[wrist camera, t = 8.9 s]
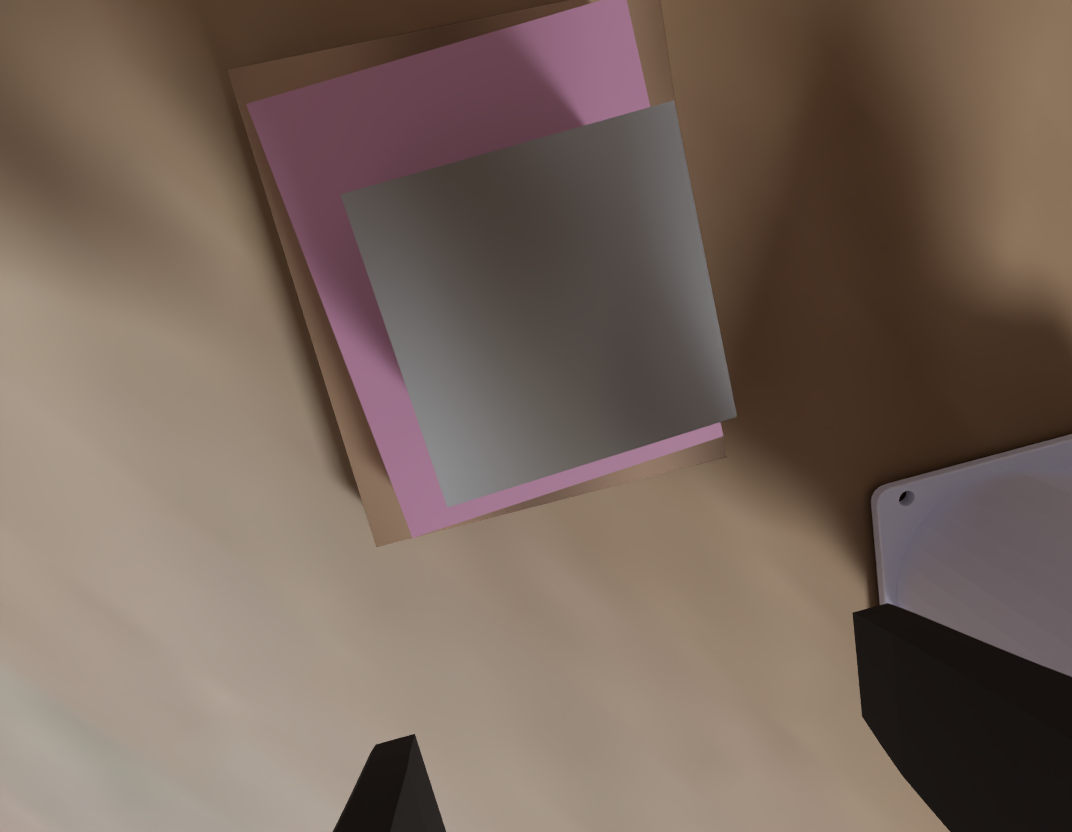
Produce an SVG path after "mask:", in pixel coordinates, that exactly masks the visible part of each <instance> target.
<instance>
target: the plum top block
mask: <svg viewBox="0 0 1072 832" xmlns="http://www.w3.org/2000/svg"><path fill="white" fill-rule="evenodd" d="M246 105H247V108H248V110H249V113H250V116H251V118H252V121H253V123H254V126H255V129H256V131H257V134H258V136H259V139H260V142H261V144H262V147H263V149H264V152H265V155H266V157H267V160H268V162H269V165H270V168H271V170H272V173H273V176H274V178H275V181H276V183H277V186H278V189H279V191H280V194H281V196H282V199H283V202H284V204H285V207H286V209H287V212H288V215H289V217H290V220H291V222H292V225H293V228H294V230H295V233H296V235H297V238H298V241H299V243H300V246H301V249H302V251H303V254H304V256H305V259H306V262H307V264H308V267H309V269H310V272H311V275H312V277H313V280H314V282H315V285H316V288H317V290H318V293H319V295H320V298H321V301H322V303H323V306H324V309H325V311H326V314H327V316H328V319H329V322H330V324H331V327H332V329H333V332H334V335H335V337H336V340H337V342H338V345H339V348H340V350H341V353H342V355H343V358H344V361H345V363H346V366H347V368H348V371H349V374H350V376H351V379H352V382H353V384H354V387H355V389H356V392H357V395H358V397H359V400H360V402H361V405H362V408H363V410H364V413H365V415H366V418H367V421H368V423H369V426H370V428H371V431H372V434H373V436H374V439H375V441H376V444H377V447H378V449H379V452H380V455H381V457H382V460H383V462H384V465H385V468H386V470H387V473H388V475H389V478H390V481H391V483H392V486H393V488H394V491H395V494H396V496H397V499H398V501H399V504H400V507H401V509H402V512H403V515H404V517H405V520H406V522H407V525H408V528H409V530H410V533H411V535H412V538H414V537H417V536H420V535H423V534H426V533H429V532H432V531H435V530H439V529H442V528H445V527H448V526H451V525H454V524H457V523H460V522H463V521H466V520H469V519H472V518H475V517H478V516H481V515H484V514H487V513H490V512H493V511H496V510H500V509H503V508H506V507H509V506H512V505H515V504H518V503H521V502H524V501H527V500H530V499H533V498H536V497H539V496H542V495H545V494H548V493H551V492H554V491H557V490H561V489H564V488H567V487H570V486H573V485H576V484H579V483H582V482H585V481H588V480H591V479H594V478H597V477H600V476H603V475H606V474H609V473H612V472H615V471H618V470H622V469H625V468H628V467H631V466H634V465H637V464H640V463H643V462H646V461H649V460H652V459H655V458H658V457H661V456H664V455H667V454H670V453H673V452H676V451H679V450H682V449H686V448H689V447H692V446H695V445H698V444H701V443H704V442H707V441H710V440H713V439H716V438H719V437H722V436H723V432H722V427H721V423H720V422H719V423H716V424H713V425H710V426H707V427H703V428H700V429H697V430H694V431H691V432H687V433H684V434H681V435H678V436H675V437H671V438H668V439H665V440H662V441H659V442H656V443H652V444H649V445H646V446H643V447H640V448H636V449H633V450H630V451H627V452H624V453H620V454H617V455H614V456H611V457H608V458H604V459H601V460H598V461H595V462H592V463H588V464H585V465H582V466H579V467H576V468H573V469H569V470H566V471H563V472H560V473H557V474H553V475H550V476H547V477H544V478H541V479H537V480H534V481H531V482H528V483H525V484H521V485H518V486H515V487H512V488H509V489H506V490H502V491H499V492H496V493H493V494H490V495H486V496H483V497H480V498H477V499H474V500H470V501H467V502H464V503H461V504H458V505H454V506H451V507H448V508H447V505H446V502H445V499H444V496H443V493H442V490H441V487H440V484H439V482H438V479H437V476H436V473H435V470H434V467H433V464H432V461H431V458H430V455H429V452H428V449H427V446H426V443H425V441H424V438H423V435H422V432H421V429H420V426H419V423H418V420H417V417H416V414H415V411H414V408H413V405H412V402H411V400H410V397H409V394H408V391H407V388H406V385H405V382H404V379H403V376H402V373H401V370H400V367H399V364H398V361H397V359H396V356H395V353H394V350H393V347H392V344H391V341H390V338H389V335H388V332H387V329H386V326H385V323H384V320H383V318H382V315H381V312H380V309H379V306H378V303H377V300H376V297H375V294H374V291H373V288H372V285H371V282H370V280H369V277H368V274H367V271H366V268H365V265H364V262H363V259H362V256H361V253H360V250H359V247H358V244H357V241H356V239H355V236H354V233H353V230H352V227H351V224H350V221H349V218H348V215H347V212H346V209H345V206H344V203H343V200H342V198H341V195H340V194H344V193H347V192H351V191H354V190H358V189H361V188H365V187H368V186H372V185H375V184H379V183H382V182H386V181H390V180H393V179H397V178H400V177H404V176H407V175H411V174H414V173H418V172H421V171H425V170H429V169H432V168H436V167H439V166H443V165H446V164H450V163H453V162H457V161H460V160H464V159H468V158H471V157H475V156H478V155H482V154H485V153H489V152H492V151H496V150H499V149H503V148H507V147H510V146H514V145H517V144H521V143H524V142H528V141H531V140H535V139H538V138H542V137H546V136H549V135H553V134H556V133H560V132H563V131H567V130H570V129H574V128H577V127H581V126H585V125H588V124H592V123H595V122H599V121H602V120H606V119H609V118H613V117H616V116H620V115H624V114H627V113H631V112H634V111H638V110H641V109H645V108H648V107H650V103H649V99H648V94H647V90H646V85H645V81H644V76H643V72H642V67H641V63H640V58H639V54H638V49H637V45H636V40H635V36H634V31H633V27H632V22H631V18H630V13H629V9H628V4H627V0H601V1H597V2H594V3H590V4H587V5H584V6H580V7H577V8H573V9H570V10H566V11H563V12H560V13H556V14H553V15H549V16H546V17H542V18H539V19H536V20H532V21H529V22H525V23H522V24H519V25H515V26H512V27H508V28H505V29H501V30H498V31H495V32H491V33H488V34H484V35H481V36H477V37H474V38H471V39H467V40H464V41H460V42H457V43H453V44H450V45H447V46H443V47H440V48H436V49H433V50H430V51H426V52H423V53H419V54H416V55H412V56H409V57H406V58H402V59H399V60H395V61H392V62H388V63H385V64H382V65H378V66H375V67H371V68H368V69H364V70H361V71H358V72H354V73H351V74H347V75H344V76H340V77H337V78H334V79H330V80H327V81H323V82H320V83H317V84H313V85H310V86H306V87H303V88H299V89H296V90H293V91H289V92H286V93H282V94H279V95H275V96H272V97H269V98H265V99H262V100H258V101H255V102H251V103H248V104H246Z"/></svg>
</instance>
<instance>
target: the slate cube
mask: <svg viewBox="0 0 1072 832" xmlns="http://www.w3.org/2000/svg"><path fill="white" fill-rule="evenodd" d="M340 195H341V198H342V200H343V203H344V206H345V209H346V212H347V215H348V218H349V221H350V224H351V227H352V230H353V233H354V236H355V239H356V241H357V244H358V247H359V250H360V253H361V256H362V259H363V262H364V265H365V268H366V271H367V274H368V277H369V280H370V282H371V285H372V288H373V291H374V294H375V297H376V300H377V303H378V306H379V309H380V312H381V315H382V318H383V320H384V323H385V326H386V329H387V332H388V335H389V338H390V341H391V344H392V347H393V350H394V353H395V356H396V359H397V361H398V364H399V367H400V370H401V373H402V376H403V379H404V382H405V385H406V388H407V391H408V394H409V397H410V400H411V402H412V405H413V408H414V411H415V414H416V417H417V420H418V423H419V426H420V429H421V432H422V435H423V438H424V441H425V443H426V446H427V449H428V452H429V455H430V458H431V461H432V464H433V467H434V470H435V473H436V476H437V479H438V482H439V484H440V487H441V490H442V493H443V496H444V499H445V502H446V505H447V508H448V507H451V506H454V505H458V504H461V503H464V502H467V501H470V500H474V499H477V498H480V497H483V496H486V495H490V494H493V493H496V492H499V491H502V490H506V489H509V488H512V487H515V486H518V485H521V484H525V483H528V482H531V481H534V480H537V479H541V478H544V477H547V476H550V475H553V474H557V473H560V472H563V471H566V470H569V469H573V468H576V467H579V466H582V465H585V464H588V463H592V462H595V461H598V460H601V459H604V458H608V457H611V456H614V455H617V454H620V453H624V452H627V451H630V450H633V449H636V448H640V447H643V446H646V445H649V444H652V443H656V442H659V441H662V440H665V439H668V438H671V437H675V436H678V435H681V434H684V433H687V432H691V431H694V430H697V429H700V428H703V427H707V426H710V425H713V424H716V423H719V422H723V421H726V420H729V419H732V418H735V417H737V414H736V409H735V404H734V399H733V394H732V389H731V384H730V379H729V374H728V369H727V364H726V359H725V354H724V349H723V343H722V338H721V333H720V328H719V323H718V318H717V313H716V308H715V303H714V298H713V293H712V288H711V283H710V278H709V273H708V268H707V263H706V258H705V253H704V248H703V243H702V238H701V233H700V228H699V223H698V218H697V213H696V208H695V203H694V198H693V193H692V188H691V183H690V178H689V173H688V168H687V163H686V158H685V153H684V148H683V143H682V138H681V133H680V128H679V123H678V117H677V112H676V107H675V102H674V100H673V101H670V102H666V103H663V104H659V105H655V106H652V107H648V108H645V109H641V110H638V111H634V112H631V113H627V114H624V115H620V116H616V117H613V118H609V119H606V120H602V121H599V122H595V123H592V124H588V125H585V126H581V127H577V128H574V129H570V130H567V131H563V132H560V133H556V134H553V135H549V136H546V137H542V138H538V139H535V140H531V141H528V142H524V143H521V144H517V145H514V146H510V147H507V148H503V149H499V150H496V151H492V152H489V153H485V154H482V155H478V156H475V157H471V158H468V159H464V160H460V161H457V162H453V163H450V164H446V165H443V166H439V167H436V168H432V169H429V170H425V171H421V172H418V173H414V174H411V175H407V176H404V177H400V178H397V179H393V180H390V181H386V182H382V183H379V184H375V185H372V186H368V187H365V188H361V189H358V190H354V191H351V192H347V193H344V194H340Z"/></svg>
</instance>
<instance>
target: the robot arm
mask: <svg viewBox="0 0 1072 832" xmlns="http://www.w3.org/2000/svg"><path fill="white" fill-rule="evenodd" d="M905 491H906V496H905V498H904V499H903V500H901V501H899V498H900V496H901V494H902V493H903V492H905ZM871 508H872V520H873V532H874V543H875V555H876V566H877V578H878V590H879V601H880V605H879V606H875V607H872V608H868V609H865V610H861V611H857V612H854V613H853V622H854V633H855V643H856V654H857V665H858V676H859V687H860V697H861V708H862V717H863V718H864V720H865V721H866V723H867V724H868V726H869V727H870V729H871V730H872V732H873V734H874V735H875V737H876V738H877V740H878V741H879V743H880V744H881V746H882V747H883V749H884V750H885V751H886V753H887V754H888V756H889V757H890V759H891V760H892V761H893V763H894V764H895V766H896V767H897V769H898V770H899V771H900V773H901V774H902V776H903V777H904V778H905V779H906V780H907V782H908V783H909V784H910V785H911V786H912V788H913V789H914V790H915V791H916V792H917V793H918V795H919V796H920V797H921V798H922V799H923V800H924V802H925V803H926V804H927V805H928V806H929V807H930V809H931V810H932V811H933V812H934V813H935V814H936V816H937V817H938V818H939V819H940V820H941V821H942V823H943V824H944V825H945V826H946V827H947V828H948V830H949V831H950V832H1072V434H1070V435H1066V436H1062V437H1059V438H1055V439H1051V440H1047V441H1044V442H1040V443H1036V444H1033V445H1029V446H1025V447H1021V448H1018V449H1014V450H1010V451H1007V452H1003V453H999V454H995V455H992V456H988V457H984V458H981V459H977V460H973V461H969V462H966V463H962V464H958V465H955V466H951V467H947V468H943V469H940V470H936V471H932V472H928V473H925V474H921V475H917V476H914V477H910V478H906V479H902V480H899V481H895V482H891V483H888V484H884V485H882V486H880V487H878V488H877V489H876V490H875V491H874V493H873V495H872V498H871ZM333 832H446V830H445V827H444V824H443V821H442V818H441V814H440V811H439V808H438V805H437V802H436V799H435V796H434V793H433V790H432V786H431V783H430V780H429V777H428V774H427V771H426V768H425V765H424V761H423V758H422V755H421V752H420V749H419V746H418V743H417V740H416V736H415V734H413V735H409V736H406V737H402V738H398V739H395V740H391V741H387V742H384V743H380V744H377V745H375V747H374V748H373V750H372V751H371V753H370V755H369V757H368V759H367V762H366V764H365V766H364V768H363V770H362V772H361V774H360V777H359V779H358V781H357V783H356V785H355V787H354V789H353V791H352V794H351V796H350V798H349V800H348V802H347V804H346V806H345V808H344V810H343V812H342V814H341V816H340V818H339V820H338V822H337V824H336V826H335V828H334V830H333Z"/></svg>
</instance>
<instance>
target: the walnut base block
mask: <svg viewBox="0 0 1072 832" xmlns="http://www.w3.org/2000/svg"><path fill="white" fill-rule="evenodd" d="M597 1H601V0H566V1H562V2H557V3H552V4H547V5H542V6H537V7H532V8H527V9H522V10H517V11H513V12H508V13H503V14H498V15H493V16H488V17H483V18H478V19H473V20H468V21H464V22H459V23H454V24H449V25H444V26H439V27H434V28H429V29H424V30H419V31H415V32H410V33H405V34H400V35H395V36H390V37H385V38H380V39H375V40H370V41H365V42H361V43H356V44H351V45H346V46H341V47H336V48H331V49H326V50H321V51H316V52H312V53H307V54H302V55H297V56H292V57H287V58H282V59H277V60H272V61H267V62H263V63H258V64H253V65H248V66H243V67H238V68H233V69H228V70H227V72H228V75H229V79H230V82H231V85H232V88H233V91H234V95H235V98H236V101H237V104H238V107H239V110H240V114H241V117H242V120H243V123H244V126H245V130H246V133H247V136H248V139H249V142H250V146H251V149H252V152H253V155H254V158H255V161H256V165H257V168H258V171H259V174H260V177H261V181H262V184H263V187H264V190H265V193H266V197H267V200H268V203H269V206H270V209H271V212H272V216H273V219H274V222H275V225H276V228H277V232H278V235H279V238H280V241H281V244H282V248H283V251H284V254H285V257H286V260H287V264H288V267H289V270H290V273H291V276H292V279H293V283H294V286H295V289H296V292H297V295H298V299H299V302H300V305H301V308H302V311H303V315H304V318H305V321H306V324H307V327H308V330H309V334H310V337H311V340H312V343H313V346H314V350H315V353H316V356H317V359H318V362H319V366H320V369H321V372H322V375H323V378H324V381H325V385H326V388H327V391H328V394H329V397H330V401H331V404H332V407H333V410H334V413H335V417H336V420H337V423H338V426H339V429H340V433H341V436H342V439H343V442H344V445H345V448H346V452H347V455H348V458H349V461H350V464H351V468H352V471H353V474H354V477H355V480H356V484H357V487H358V490H359V493H360V496H361V499H362V503H363V506H364V509H365V512H366V515H367V519H368V522H369V525H370V528H371V531H372V535H373V538H374V541H375V544H376V547H379V546H383V545H387V544H391V543H394V542H398V541H402V540H406V539H410V538H412V535H411V533H410V530H409V528H408V525H407V522H406V520H405V517H404V515H403V512H402V509H401V507H400V504H399V501H398V499H397V496H396V494H395V491H394V488H393V486H392V483H391V481H390V478H389V475H388V473H387V470H386V468H385V465H384V462H383V460H382V457H381V455H380V452H379V449H378V447H377V444H376V441H375V439H374V436H373V434H372V431H371V428H370V426H369V423H368V421H367V418H366V415H365V413H364V410H363V408H362V405H361V402H360V400H359V397H358V395H357V392H356V389H355V387H354V384H353V382H352V379H351V376H350V374H349V371H348V368H347V366H346V363H345V361H344V358H343V355H342V353H341V350H340V348H339V345H338V342H337V340H336V337H335V335H334V332H333V329H332V327H331V324H330V322H329V319H328V316H327V314H326V311H325V309H324V306H323V303H322V301H321V298H320V295H319V293H318V290H317V288H316V285H315V282H314V280H313V277H312V275H311V272H310V269H309V267H308V264H307V262H306V259H305V256H304V254H303V251H302V249H301V246H300V243H299V241H298V238H297V235H296V233H295V230H294V228H293V225H292V222H291V220H290V217H289V215H288V212H287V209H286V207H285V204H284V202H283V199H282V196H281V194H280V191H279V189H278V186H277V183H276V181H275V178H274V176H273V173H272V170H271V168H270V165H269V162H268V160H267V157H266V155H265V152H264V149H263V147H262V144H261V142H260V139H259V136H258V134H257V131H256V129H255V126H254V123H253V121H252V118H251V116H250V113H249V110H248V108H247V105H246V104H248V103H251V102H255V101H258V100H262V99H265V98H269V97H272V96H275V95H279V94H282V93H286V92H289V91H293V90H296V89H299V88H303V87H306V86H310V85H313V84H317V83H320V82H323V81H327V80H330V79H334V78H337V77H340V76H344V75H347V74H351V73H354V72H358V71H361V70H364V69H368V68H371V67H375V66H378V65H382V64H385V63H388V62H392V61H395V60H399V59H402V58H406V57H409V56H412V55H416V54H419V53H423V52H426V51H430V50H433V49H436V48H440V47H443V46H447V45H450V44H453V43H457V42H460V41H464V40H467V39H471V38H474V37H477V36H481V35H484V34H488V33H491V32H495V31H498V30H501V29H505V28H508V27H512V26H515V25H519V24H522V23H525V22H529V21H532V20H536V19H539V18H542V17H546V16H549V15H553V14H556V13H560V12H563V11H566V10H570V9H573V8H577V7H580V6H584V5H587V4H590V3H594V2H597ZM627 4H628V9H629V13H630V18H631V22H632V27H633V31H634V36H635V40H636V45H637V49H638V54H639V58H640V63H641V67H642V72H643V76H644V81H645V85H646V90H647V94H648V99H649V103H650V107H652V106H655V105H659V104H663V103H666V102H670V101H673V100H674V102H675V99H674V92H673V85H672V78H671V71H670V64H669V57H668V51H667V44H666V37H665V30H664V23H663V16H662V9H661V2H660V0H627ZM675 107H676V106H675ZM720 423H721V422H720ZM721 427H722V423H721ZM722 432H723V430H722ZM725 457H726V451H725V444H724V437H723V436H722V437H719V438H716V439H713V440H710V441H707V442H704V443H701V444H698V445H695V446H692V447H689V448H686V449H682V450H679V451H676V452H673V453H670V454H667V455H664V456H661V457H658V458H655V459H652V460H649V461H646V462H643V463H640V464H637V465H634V466H631V467H628V468H625V469H622V470H618V471H615V472H612V473H609V474H606V475H603V476H600V477H597V478H594V479H591V480H588V481H585V482H582V483H579V484H576V485H573V486H570V487H567V488H564V489H561V490H557V491H554V492H551V493H548V494H545V495H542V496H539V497H536V498H533V499H530V500H527V501H524V502H521V503H518V504H515V505H512V506H509V507H506V508H503V509H500V510H496V511H493V512H490V513H487V514H484V515H481V516H478V517H475V518H472V519H469V520H466V521H463V522H460V523H457V524H454V525H451V526H448V527H445V528H442V529H439V530H435V531H432V532H429V533H433V532H437V531H441V530H445V529H449V528H453V527H457V526H460V525H464V524H468V523H472V522H476V521H480V520H484V519H488V518H492V517H495V516H499V515H503V514H507V513H511V512H515V511H519V510H523V509H527V508H530V507H534V506H538V505H542V504H546V503H550V502H554V501H558V500H562V499H565V498H569V497H573V496H577V495H581V494H585V493H589V492H593V491H597V490H600V489H604V488H608V487H612V486H616V485H620V484H624V483H628V482H631V481H635V480H639V479H643V478H647V477H651V476H655V475H659V474H663V473H666V472H670V471H674V470H678V469H682V468H686V467H690V466H694V465H698V464H701V463H705V462H709V461H713V460H717V459H721V458H725ZM429 533H426V534H429ZM426 534H423V535H426ZM420 536H422V535H420ZM417 537H418V536H417Z"/></svg>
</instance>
